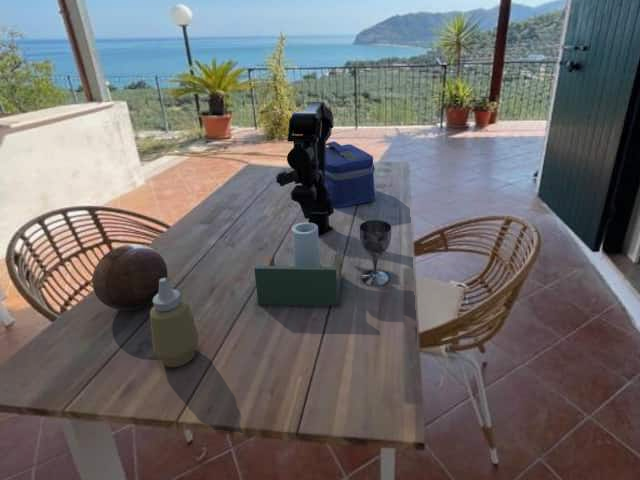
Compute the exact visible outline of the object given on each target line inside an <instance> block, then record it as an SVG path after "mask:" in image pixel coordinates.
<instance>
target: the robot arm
mask: <svg viewBox="0 0 640 480" xmlns="http://www.w3.org/2000/svg"><path fill="white" fill-rule="evenodd" d="M334 123H335V121H334V115H333V111H332V110H331V109H329V108H328V107H327V106H326V103H325V102H323V101H310V102H307V106H306V108H304V109H303V111H296V112H293V113H292V114H291V116H290V117H289V121H288V130H287V131H288V132H287V142H288V143H290V142H291V143H293V147H292V148H291V149H290V150H289V152H288V153H287V155H286V162H287V164H288V166H289V168H286V169H283V170H280V171H278V173H277V174H276V175H275V180H276V181H275V183H276V184H279V187H281V188H282V187H285V185H288V184H292V183H294V184H295V186H294V187H293V188H292V190H291V192H290V200H291V201H293V202H297V203H298V204H299V206H300V209H301V211H302V215H303V217H304V219H305V220H308V221H307V222H309V223H314V224H316V225H317V226H318V236H322V235H324V234H326V233H328V232H330V231H331V230H333V228H334V227H333V226H331V225H330V217H331V215H334V213H335V211H334V207H333V203H332V202H331V198H329V192H328V191H327V189H326V187H325V163H326V147H327V145H326V144H327V141H328V140H329V139H330V137H331V136H332V131H333V129H334V126H335V124H334Z"/></svg>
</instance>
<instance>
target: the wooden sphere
mask: <svg viewBox="0 0 640 480" xmlns="http://www.w3.org/2000/svg"><path fill="white" fill-rule="evenodd" d="M161 278H166V279H167V280H168V267H167V263H166V262H165V259H164V258H163V257H162V255H161V254H160V253H159V252H158V251H156V250H155V249H154V248H151V247H150V246H147V245H143V244H138V243H131V244H123V245H121V246H118V247H115V248H113V249H111V250H110V251H108V252H107V253H105V254H104V255H103V256H102V257H101V258H100V260H99V261H98V262H97V264H96V265H95V267H94V269H93V272H92V277H91V282H92V283H91V284H92V289H93V291H94V294H95V296H96V297H97V298H98V300H99V301H100V302H101V303H102V304H104V305H105V306H106V307H109V308H111V309H114V310H118V311H135V310H138V309H141V308H144V307H146V306H148V305H150V304H151V303H153V298H154V297H155V296H156V295H157V294H158V293H159V280H160V279H161Z"/></svg>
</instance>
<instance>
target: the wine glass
mask: <svg viewBox="0 0 640 480" xmlns="http://www.w3.org/2000/svg"><path fill="white" fill-rule="evenodd" d="M359 239H360V244H361V247H362V249H363V250H364V252H366V253H367V254H368V255H369V257H370V258H371V260H372V266H373V269H372V270H368V271H365V272H364V273H362V275H361V277H360V279H361V281H362V282H363V283H364V284H366V285H368V286H371V287H373V286H374V287H377V286H378V287H379V286H383V285H384V284H386V283H387V282H388V281H389V276H388V274H386V272H384V271H381V270H377V265H378V260H379V258H380V257H381V256H382V255H383V254H384V253H385V252H386V251H387V250H388V248H389V246H390V243H391V239H392V225H391V224H390V223H389V222H387V221H384V220H378V219H371V220H366V221H363V222H362V223H361V224H360V225H359Z"/></svg>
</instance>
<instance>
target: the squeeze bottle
mask: <svg viewBox="0 0 640 480" xmlns="http://www.w3.org/2000/svg"><path fill="white" fill-rule="evenodd" d="M152 304H153V306H152V307H151V309H150V311H149V320H150V331H151V341H152V348H153V353H154V354H155V356H156V357H157V358H158V359H159V360H160V362H162V364H163V365H164V366H166V367H167V368H178V367H182V366H184V365H186V364H188V363H189V362H190V361H192V360H193V359H194V357H195V355H196V351H197V346H198V341H199V333H198V329H197V327H196V324H195V320H194V318H193V315H192V312H191V309H190V306H189V302H188V301H187V300H186V299H184V298H183V297H182V295H181V293H180V290H177V289H173V288H172V287H171V285H170V283H169V281H168V278H167V279H166V278H161V279H160V280H159V293H158V294H157V295H156V296H155V297H154V298H153V301H152Z"/></svg>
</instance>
